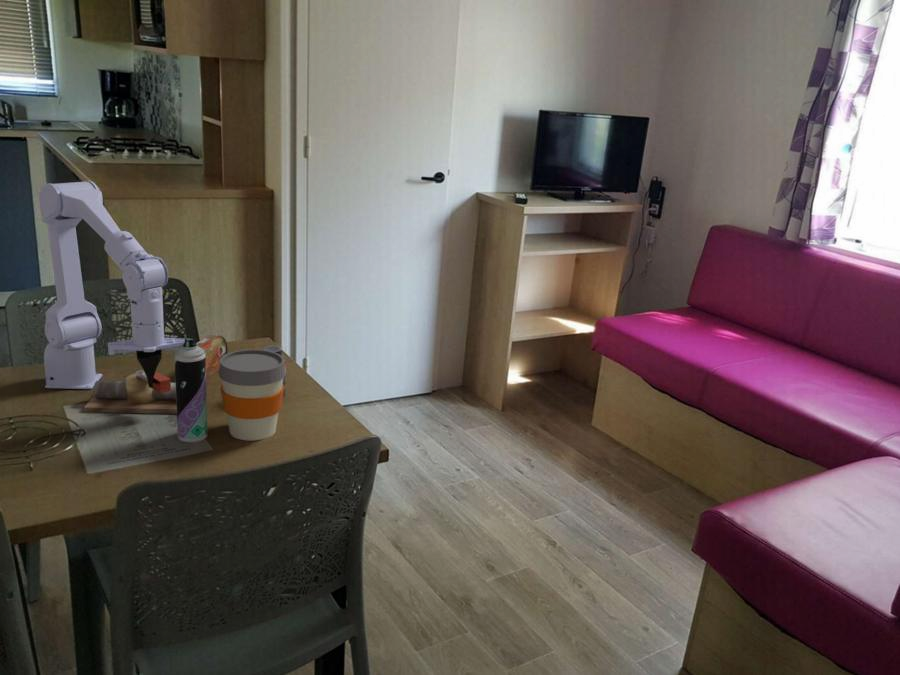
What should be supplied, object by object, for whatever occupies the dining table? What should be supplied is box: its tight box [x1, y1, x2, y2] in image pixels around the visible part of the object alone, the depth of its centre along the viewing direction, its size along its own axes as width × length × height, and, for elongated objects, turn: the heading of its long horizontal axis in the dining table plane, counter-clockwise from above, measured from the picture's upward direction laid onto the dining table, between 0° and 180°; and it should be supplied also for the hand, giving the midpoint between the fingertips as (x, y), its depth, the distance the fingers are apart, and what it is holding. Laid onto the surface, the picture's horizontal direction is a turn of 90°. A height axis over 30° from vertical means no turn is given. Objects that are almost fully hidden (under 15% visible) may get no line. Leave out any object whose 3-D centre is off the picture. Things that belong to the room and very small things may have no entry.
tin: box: [195, 334, 229, 380], centre depth 176 cm, size 15×3×8 cm, turn 166°
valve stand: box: [83, 373, 177, 415], centre depth 159 cm, size 20×10×6 cm, turn 97°
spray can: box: [174, 337, 208, 443], centre depth 144 cm, size 6×6×20 cm
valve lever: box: [135, 369, 172, 393], centre depth 155 cm, size 10×2×3 cm, turn 50°
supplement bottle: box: [262, 345, 287, 398], centre depth 166 cm, size 6×6×11 cm
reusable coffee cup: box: [218, 348, 287, 442], centre depth 150 cm, size 13×13×15 cm
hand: (150, 385), depth 152 cm, fingers closed, pressing on valve lever
